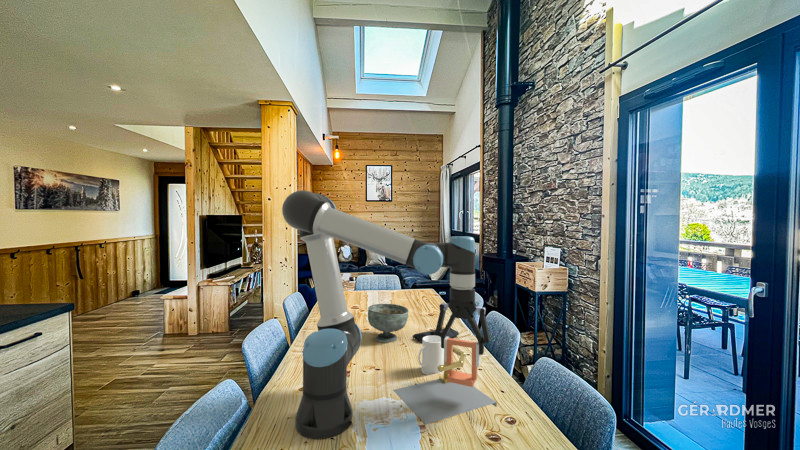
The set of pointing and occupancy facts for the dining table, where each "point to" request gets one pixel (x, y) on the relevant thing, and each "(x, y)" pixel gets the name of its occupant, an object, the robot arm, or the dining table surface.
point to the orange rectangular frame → (460, 376)
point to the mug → (431, 354)
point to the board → (442, 399)
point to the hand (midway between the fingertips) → (461, 361)
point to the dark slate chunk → (420, 336)
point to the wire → (451, 364)
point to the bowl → (387, 320)
